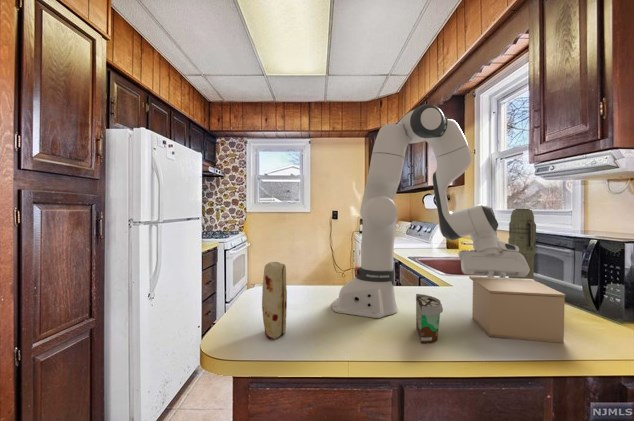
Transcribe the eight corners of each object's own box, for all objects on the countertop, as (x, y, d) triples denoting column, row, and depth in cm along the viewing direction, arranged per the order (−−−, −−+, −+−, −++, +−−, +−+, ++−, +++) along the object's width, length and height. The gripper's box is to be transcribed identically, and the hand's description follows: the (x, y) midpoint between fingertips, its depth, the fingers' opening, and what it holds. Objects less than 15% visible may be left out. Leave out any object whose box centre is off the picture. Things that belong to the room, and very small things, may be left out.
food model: (264, 327, 87) (265, 259, 87) (287, 327, 87) (288, 259, 87) (259, 343, 77) (259, 265, 77) (285, 342, 78) (285, 265, 77)
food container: (447, 348, 75) (447, 308, 75) (421, 346, 76) (422, 307, 76) (437, 328, 87) (438, 294, 87) (415, 326, 88) (416, 293, 88)
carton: (489, 337, 82) (490, 293, 82) (472, 318, 96) (472, 280, 95) (563, 342, 79) (564, 297, 79) (534, 322, 92) (535, 283, 92)
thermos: (517, 292, 124) (518, 208, 124) (543, 301, 113) (545, 208, 112) (498, 293, 123) (500, 208, 122) (524, 303, 111) (526, 208, 110)
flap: (489, 292, 82) (489, 290, 82) (469, 278, 98) (469, 276, 98) (565, 296, 78) (565, 294, 78) (531, 280, 95) (531, 278, 95)
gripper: (459, 244, 106) (467, 278, 96) (523, 246, 102) (538, 282, 93) (455, 255, 110) (463, 288, 101) (516, 257, 107) (530, 292, 97)
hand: (499, 285), depth 97 cm, fingers closed
